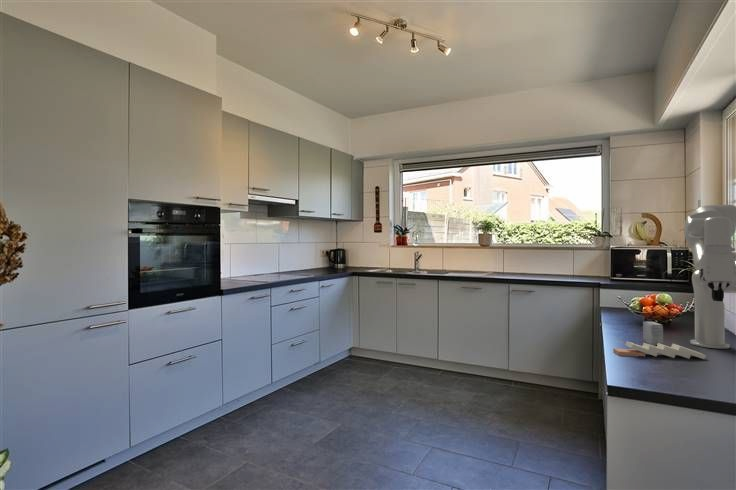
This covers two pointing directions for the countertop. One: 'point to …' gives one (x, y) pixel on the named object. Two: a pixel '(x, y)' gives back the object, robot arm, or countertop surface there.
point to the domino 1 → (628, 352)
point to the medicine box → (652, 333)
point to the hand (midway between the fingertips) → (717, 300)
